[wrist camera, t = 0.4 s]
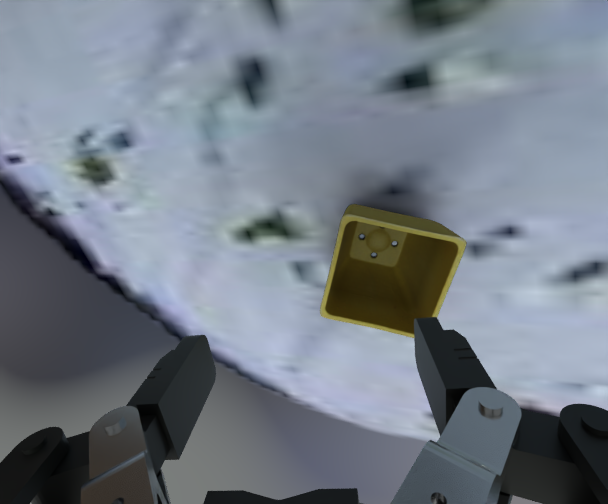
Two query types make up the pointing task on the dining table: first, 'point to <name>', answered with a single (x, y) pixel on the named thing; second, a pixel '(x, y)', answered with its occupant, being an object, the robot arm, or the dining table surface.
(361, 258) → the flower pot
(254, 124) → the dining table surface
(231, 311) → the dining table surface
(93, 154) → the dining table surface
